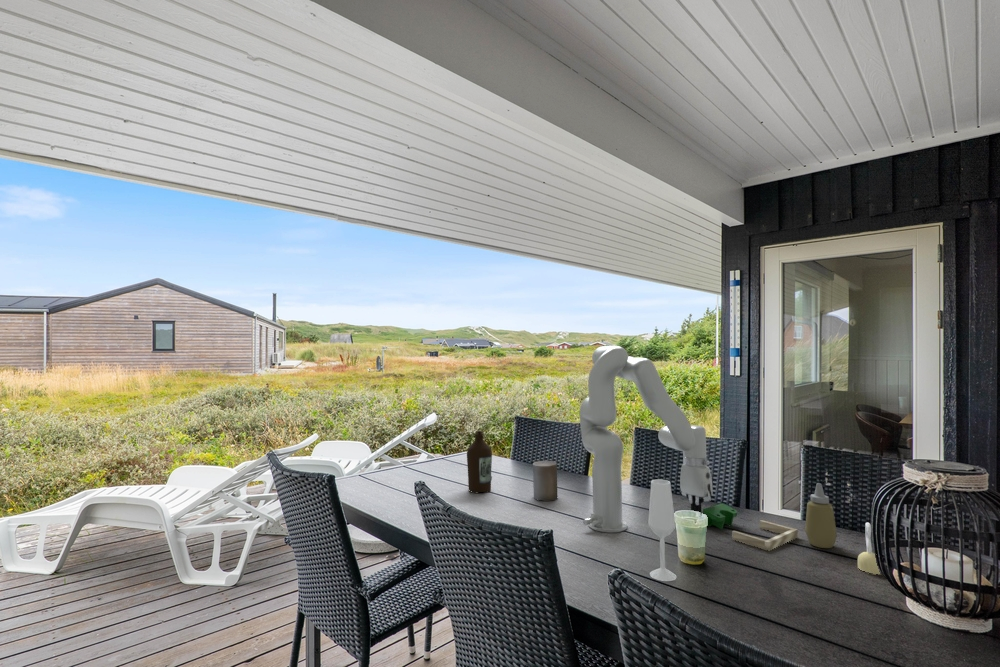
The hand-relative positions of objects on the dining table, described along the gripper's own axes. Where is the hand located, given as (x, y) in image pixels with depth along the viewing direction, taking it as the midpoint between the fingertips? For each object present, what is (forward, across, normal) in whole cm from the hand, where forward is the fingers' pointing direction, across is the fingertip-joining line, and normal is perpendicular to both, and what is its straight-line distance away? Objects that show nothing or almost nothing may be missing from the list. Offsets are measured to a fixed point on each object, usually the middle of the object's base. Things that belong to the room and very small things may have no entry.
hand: (696, 515), depth 175 cm
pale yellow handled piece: (+1, -51, 0) cm, 51 cm away
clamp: (+2, -9, 0) cm, 9 cm away
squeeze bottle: (+1, -36, -8) cm, 37 cm away
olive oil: (+1, +76, +40) cm, 86 cm away
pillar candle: (+1, +51, +25) cm, 57 cm away
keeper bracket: (+1, -23, 0) cm, 23 cm away
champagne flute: (+1, -21, +46) cm, 51 cm away
